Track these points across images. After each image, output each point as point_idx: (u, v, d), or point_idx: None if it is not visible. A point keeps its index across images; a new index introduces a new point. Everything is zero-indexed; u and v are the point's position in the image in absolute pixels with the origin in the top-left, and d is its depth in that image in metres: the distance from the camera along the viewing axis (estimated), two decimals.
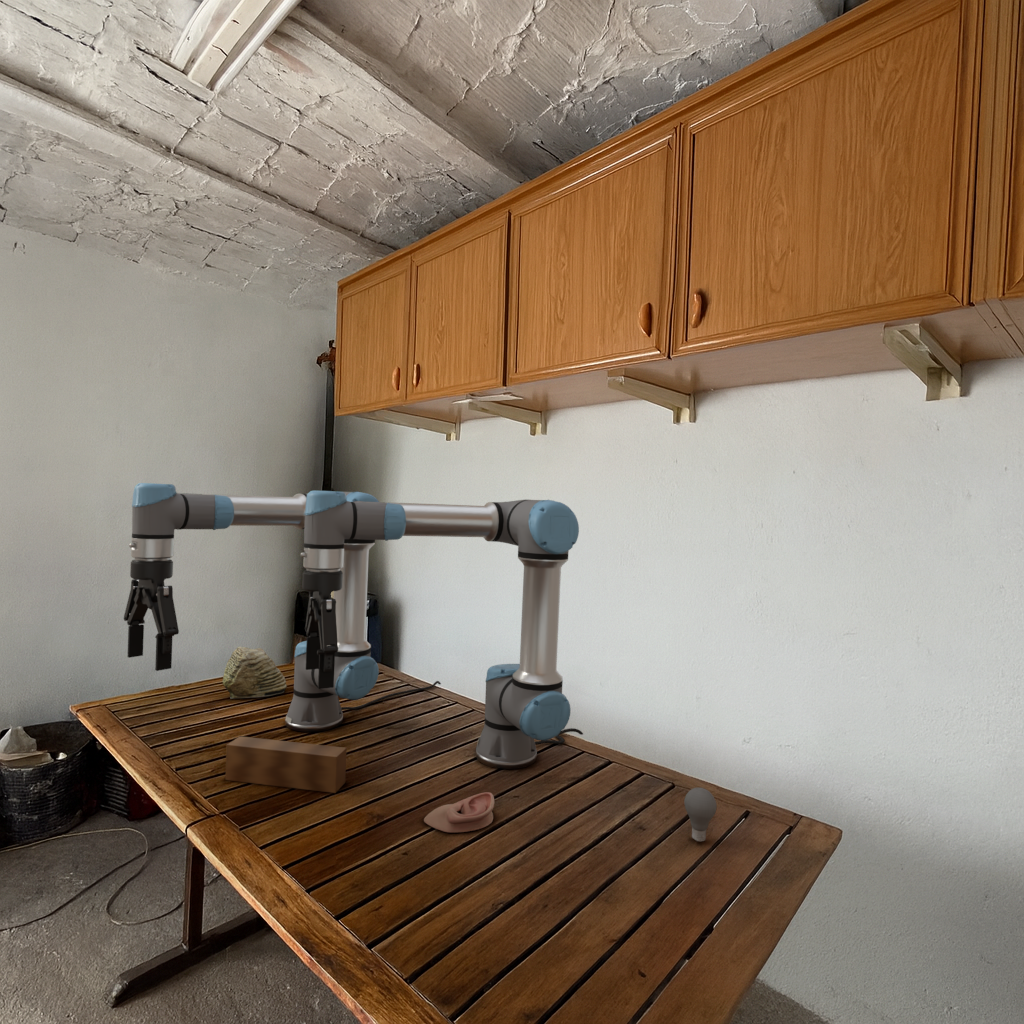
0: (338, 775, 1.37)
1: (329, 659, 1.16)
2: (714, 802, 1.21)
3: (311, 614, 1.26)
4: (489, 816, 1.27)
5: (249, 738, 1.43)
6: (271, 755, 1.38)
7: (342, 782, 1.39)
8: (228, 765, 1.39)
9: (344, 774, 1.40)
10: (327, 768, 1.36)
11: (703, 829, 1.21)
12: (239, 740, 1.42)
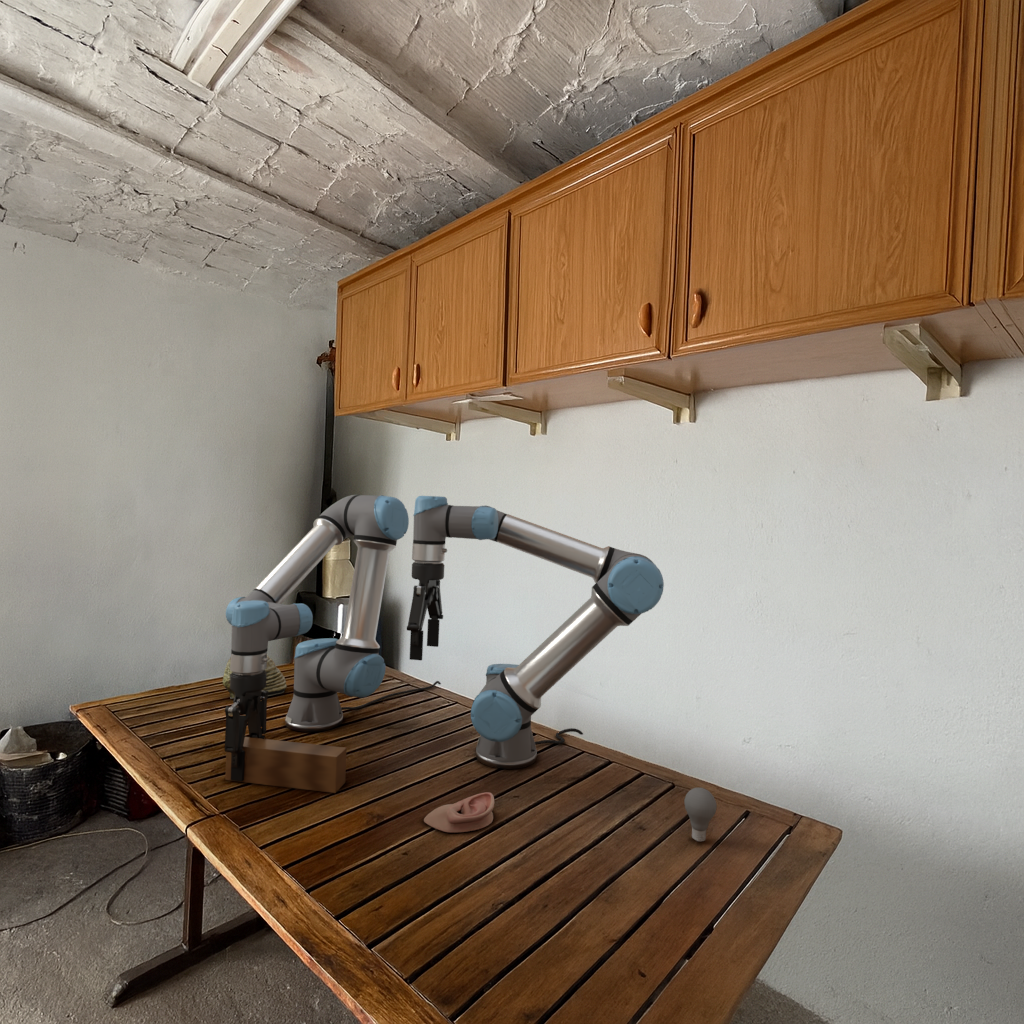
0: (338, 775, 1.37)
1: None
2: (714, 802, 1.21)
3: None
4: (489, 816, 1.27)
5: (249, 738, 1.43)
6: (271, 755, 1.38)
7: (342, 782, 1.39)
8: (228, 765, 1.39)
9: (344, 774, 1.40)
10: (327, 768, 1.36)
11: (703, 829, 1.21)
12: None
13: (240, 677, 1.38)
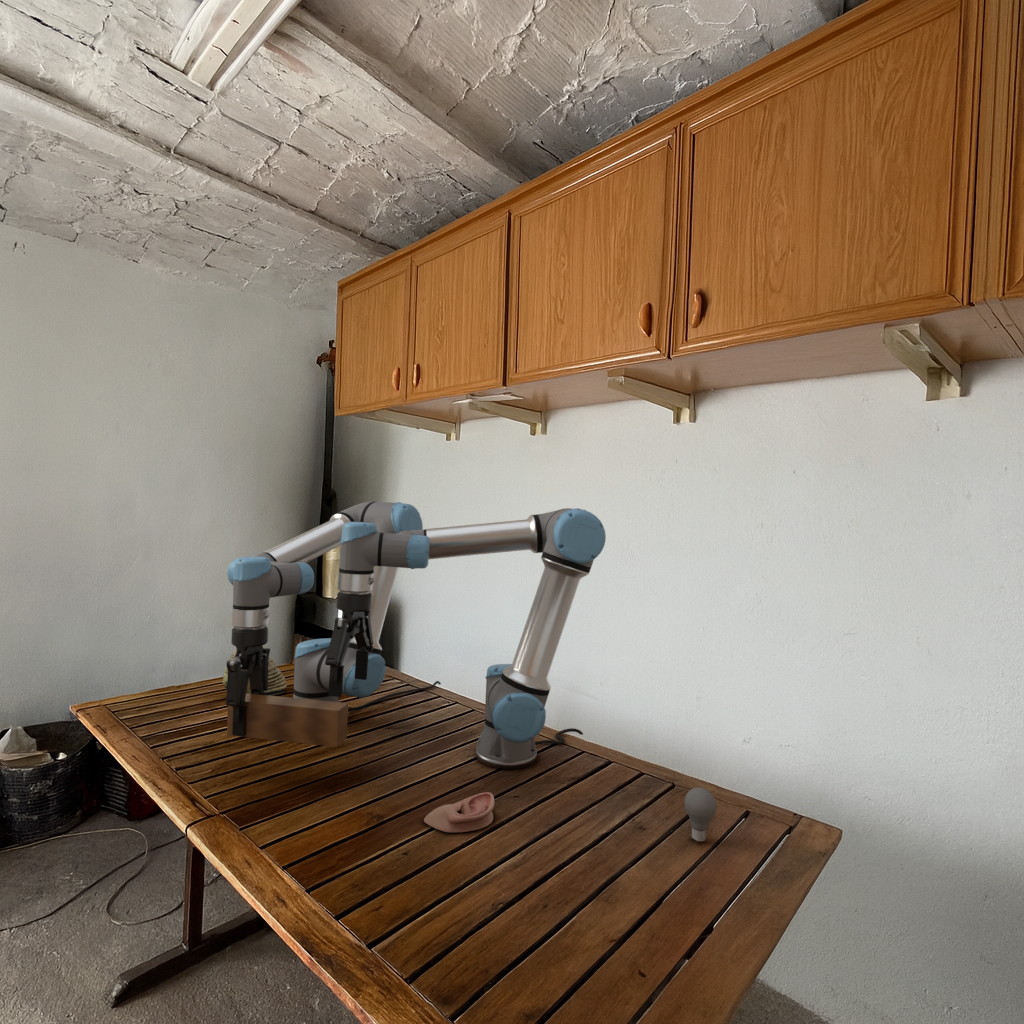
0: (340, 729, 1.37)
1: None
2: (714, 802, 1.21)
3: None
4: (489, 816, 1.27)
5: (251, 694, 1.43)
6: (273, 709, 1.38)
7: (344, 737, 1.39)
8: (230, 720, 1.39)
9: (346, 729, 1.40)
10: (329, 722, 1.36)
11: (703, 829, 1.21)
12: None
13: (242, 631, 1.37)
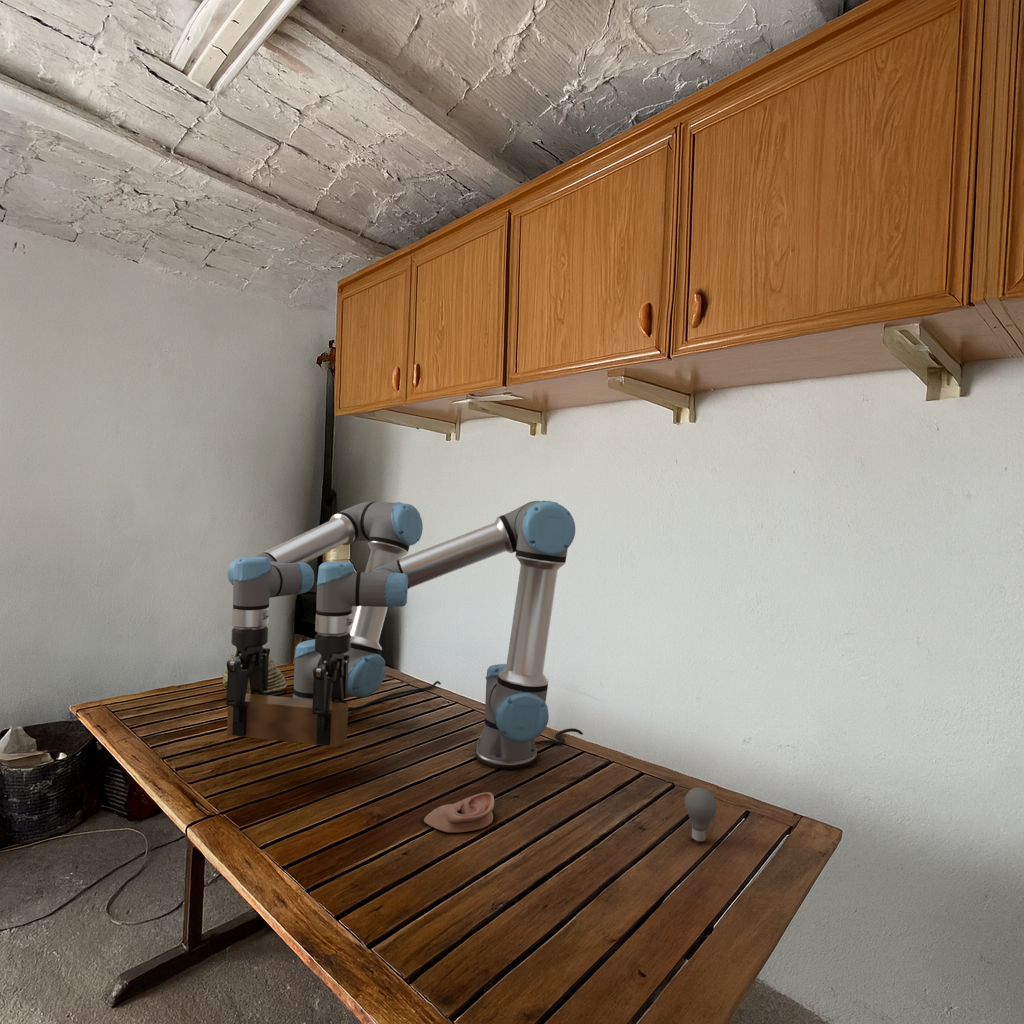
0: (340, 729, 1.37)
1: None
2: (714, 802, 1.21)
3: None
4: (489, 816, 1.27)
5: (251, 694, 1.43)
6: (273, 709, 1.38)
7: (344, 737, 1.39)
8: (230, 720, 1.39)
9: (346, 729, 1.40)
10: None
11: (703, 829, 1.21)
12: None
13: (242, 631, 1.37)
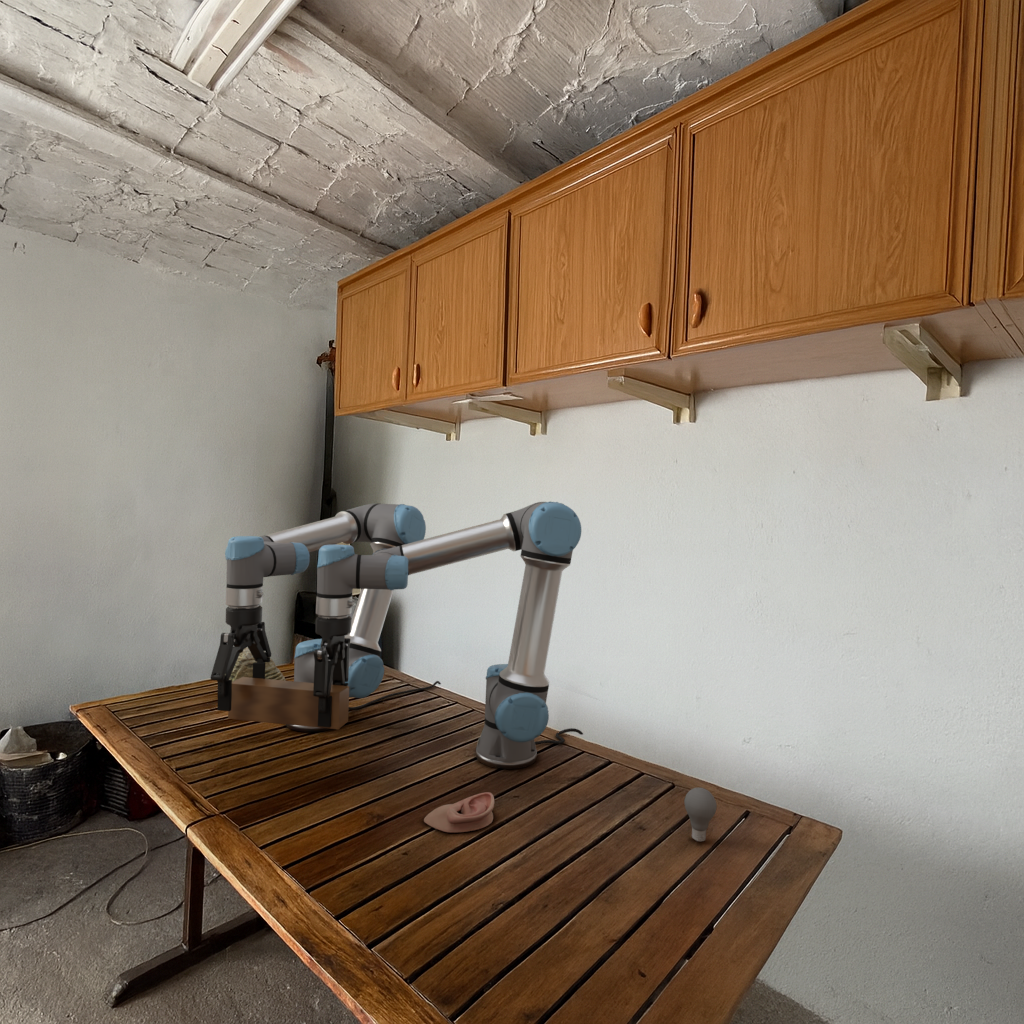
0: (341, 712, 1.37)
1: None
2: (714, 802, 1.21)
3: None
4: (489, 816, 1.27)
5: (252, 678, 1.43)
6: (274, 692, 1.38)
7: (345, 720, 1.39)
8: (231, 704, 1.39)
9: (347, 712, 1.40)
10: None
11: (703, 829, 1.21)
12: (241, 679, 1.42)
13: (236, 610, 1.38)
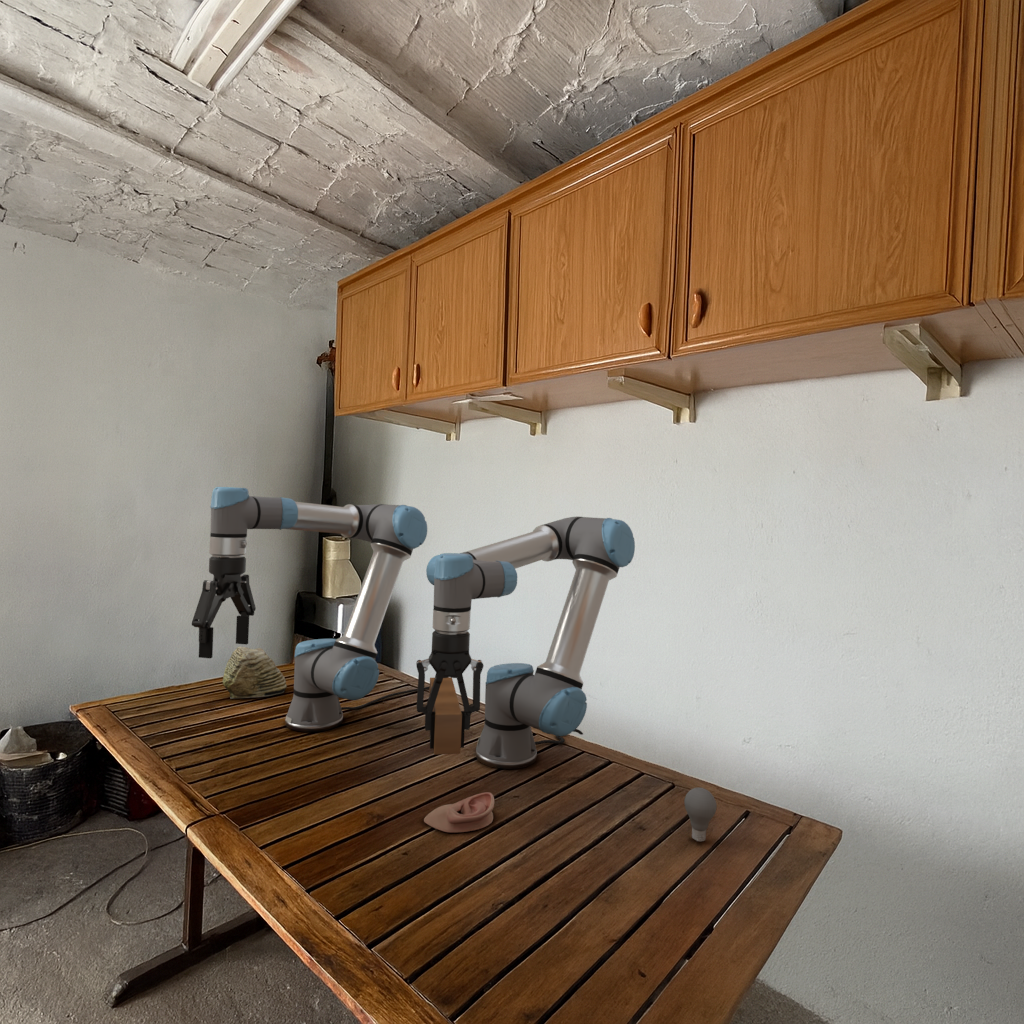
0: (442, 738, 1.24)
1: None
2: (714, 802, 1.21)
3: (441, 680, 1.26)
4: (489, 816, 1.27)
5: (449, 680, 1.47)
6: None
7: (452, 750, 1.25)
8: None
9: (458, 743, 1.25)
10: None
11: (703, 829, 1.21)
12: None
13: (219, 559, 1.38)
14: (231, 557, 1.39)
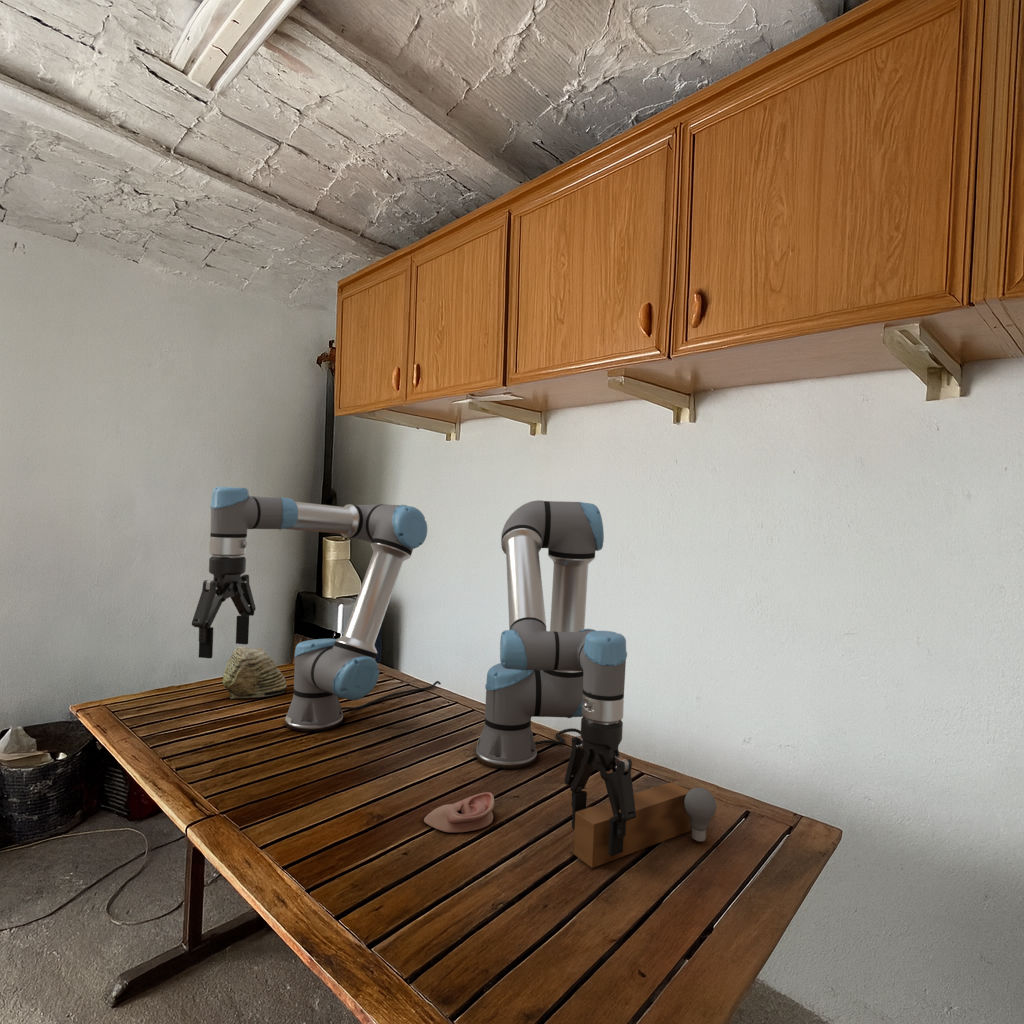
0: (579, 840, 1.15)
1: (623, 825, 1.10)
2: (714, 802, 1.21)
3: (585, 766, 1.17)
4: (489, 816, 1.27)
5: (679, 793, 1.25)
6: None
7: (586, 859, 1.13)
8: None
9: (590, 855, 1.12)
10: None
11: (703, 829, 1.21)
12: (679, 788, 1.27)
13: (219, 559, 1.38)
14: (231, 557, 1.39)
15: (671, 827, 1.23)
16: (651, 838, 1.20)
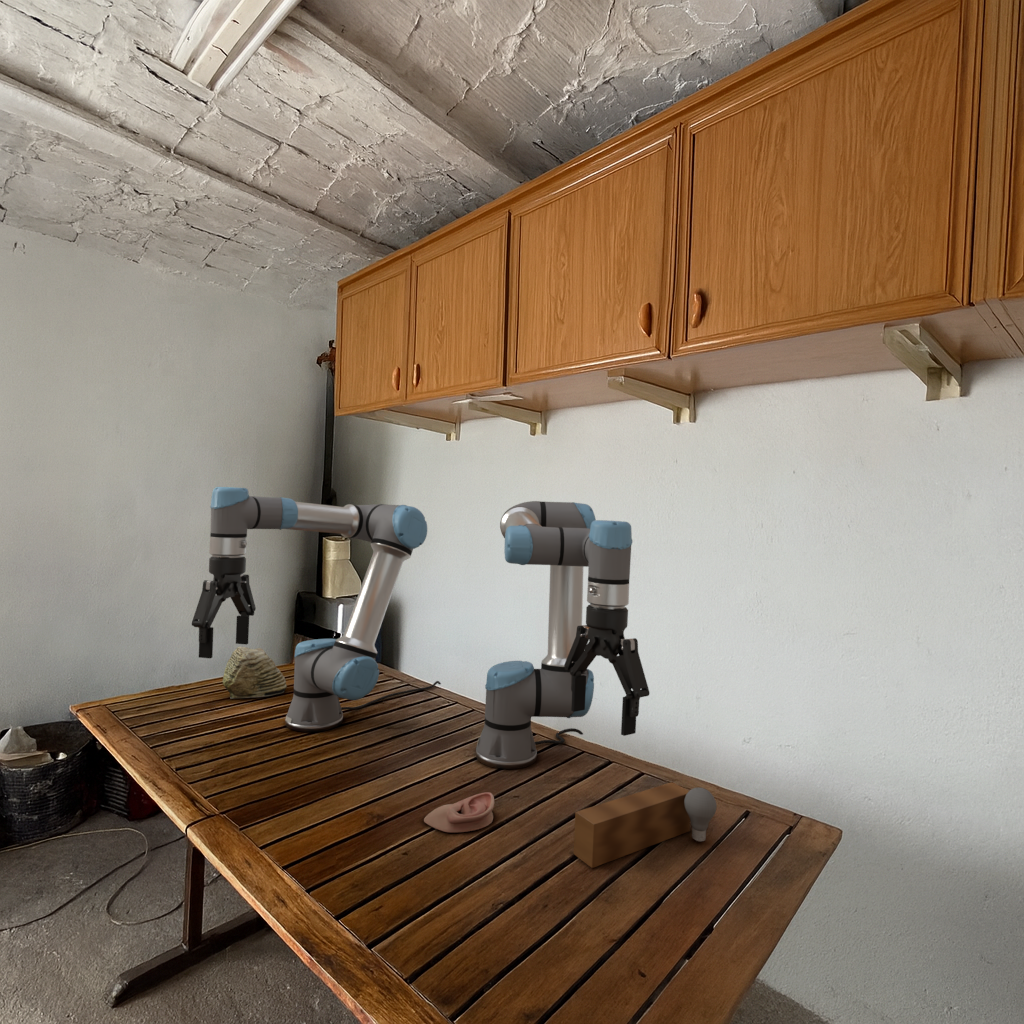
0: (579, 840, 1.15)
1: (636, 704, 1.08)
2: (714, 802, 1.21)
3: (588, 653, 1.17)
4: (489, 816, 1.27)
5: (679, 793, 1.25)
6: None
7: (586, 859, 1.13)
8: None
9: (590, 855, 1.12)
10: None
11: (703, 829, 1.21)
12: (679, 788, 1.27)
13: (219, 559, 1.38)
14: (231, 557, 1.39)
15: (671, 827, 1.23)
16: (651, 838, 1.20)
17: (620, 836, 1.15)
